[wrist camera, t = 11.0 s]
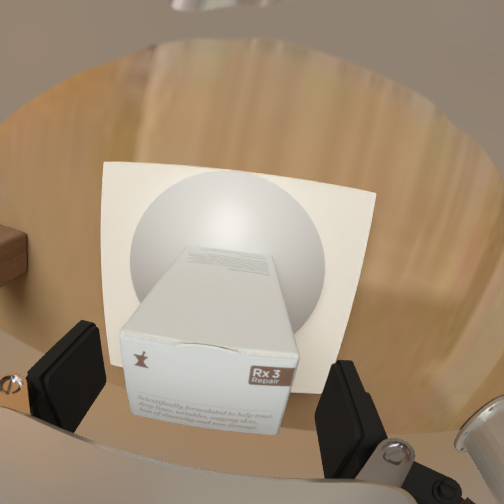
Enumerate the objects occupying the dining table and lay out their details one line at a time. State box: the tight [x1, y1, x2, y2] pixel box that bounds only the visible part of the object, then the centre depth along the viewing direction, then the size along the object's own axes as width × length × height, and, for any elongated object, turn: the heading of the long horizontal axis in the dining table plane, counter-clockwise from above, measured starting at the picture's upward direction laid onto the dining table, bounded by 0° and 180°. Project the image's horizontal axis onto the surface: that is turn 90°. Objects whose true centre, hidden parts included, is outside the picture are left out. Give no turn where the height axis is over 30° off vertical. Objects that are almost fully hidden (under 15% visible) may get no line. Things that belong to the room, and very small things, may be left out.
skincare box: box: [119, 245, 300, 435], centre depth 15 cm, size 6×4×12 cm
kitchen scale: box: [101, 162, 376, 394], centre depth 22 cm, size 20×18×8 cm
